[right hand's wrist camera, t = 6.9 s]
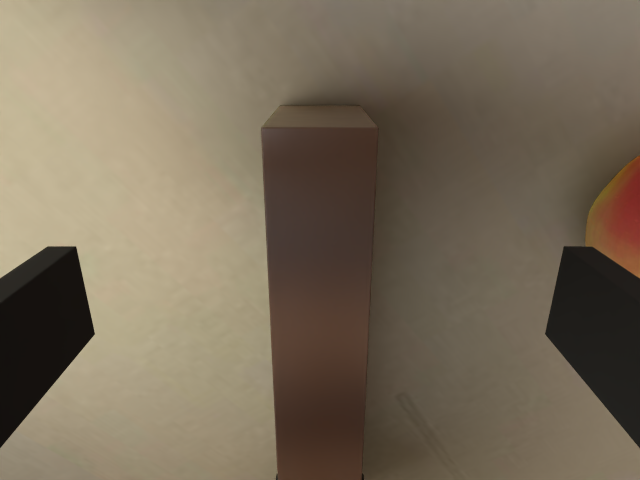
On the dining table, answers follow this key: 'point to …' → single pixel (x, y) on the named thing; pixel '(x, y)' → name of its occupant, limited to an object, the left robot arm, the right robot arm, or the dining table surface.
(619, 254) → the apple
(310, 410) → the walnut beam
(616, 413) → the right robot arm
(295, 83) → the dining table surface
